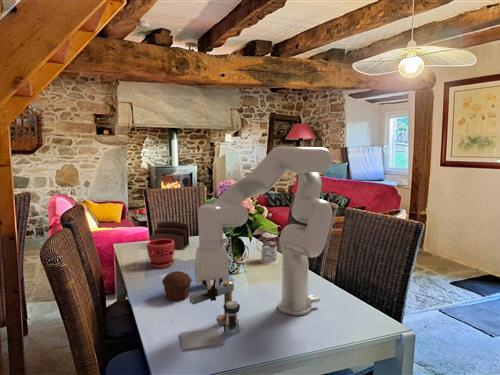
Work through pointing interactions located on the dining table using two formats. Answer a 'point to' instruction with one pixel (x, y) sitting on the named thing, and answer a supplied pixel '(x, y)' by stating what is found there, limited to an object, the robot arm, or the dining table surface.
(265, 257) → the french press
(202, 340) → the rubber mat
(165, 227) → the letter holder
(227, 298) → the post
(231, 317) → the push button
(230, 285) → the steel strap
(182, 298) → the muffin
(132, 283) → the dining table surface
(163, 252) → the plant pot
